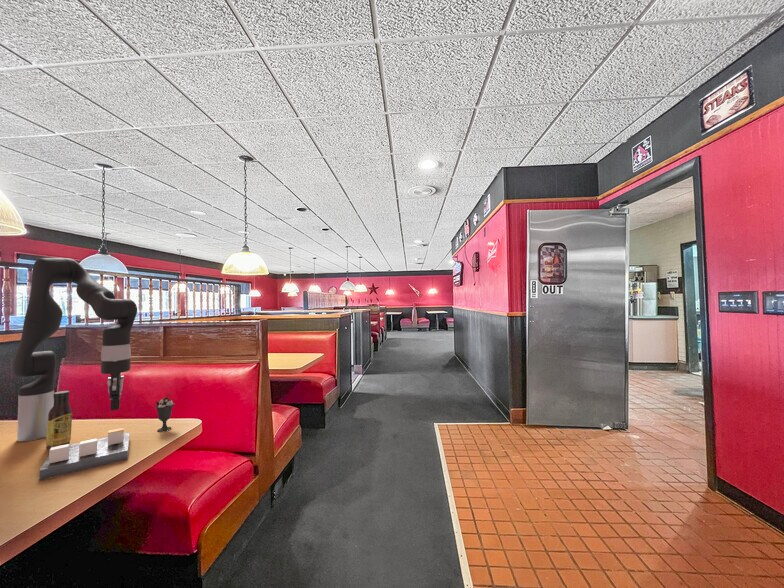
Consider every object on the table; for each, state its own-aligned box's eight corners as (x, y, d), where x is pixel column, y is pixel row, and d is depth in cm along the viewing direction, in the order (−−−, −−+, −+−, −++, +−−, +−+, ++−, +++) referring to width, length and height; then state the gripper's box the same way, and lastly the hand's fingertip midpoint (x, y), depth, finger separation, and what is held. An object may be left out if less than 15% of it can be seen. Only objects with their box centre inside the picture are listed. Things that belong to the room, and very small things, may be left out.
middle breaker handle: (80, 453, 101) (80, 441, 101) (97, 450, 104) (97, 438, 104) (78, 456, 99) (79, 444, 99) (96, 453, 102) (96, 440, 102)
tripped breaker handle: (108, 442, 109) (108, 430, 109) (123, 439, 112) (123, 427, 112) (107, 445, 107) (107, 432, 107) (123, 442, 110) (123, 429, 110)
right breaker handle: (51, 460, 97) (51, 447, 97) (69, 456, 100) (69, 443, 100) (49, 463, 95) (49, 450, 95) (67, 459, 98) (68, 446, 98)
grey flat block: (53, 456, 106) (53, 447, 106) (129, 440, 119) (129, 432, 119) (39, 480, 92) (39, 470, 92) (127, 459, 105) (127, 450, 105)
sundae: (178, 427, 131) (178, 391, 131) (161, 433, 124) (162, 396, 125) (167, 425, 133) (167, 390, 133) (150, 431, 126) (151, 394, 127)
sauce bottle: (53, 452, 109) (55, 395, 110) (40, 450, 111) (42, 394, 111) (76, 443, 116) (77, 390, 116) (63, 442, 117) (64, 389, 117)
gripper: (103, 356, 107) (102, 406, 107) (98, 362, 97) (97, 418, 97) (131, 354, 112) (130, 402, 112) (130, 359, 102) (128, 412, 101)
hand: (115, 409), depth 104 cm, fingers closed
